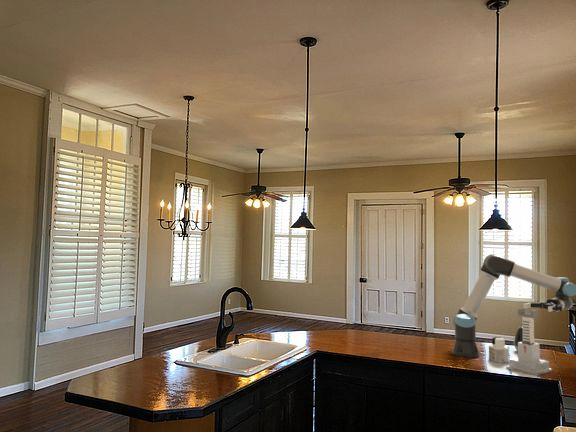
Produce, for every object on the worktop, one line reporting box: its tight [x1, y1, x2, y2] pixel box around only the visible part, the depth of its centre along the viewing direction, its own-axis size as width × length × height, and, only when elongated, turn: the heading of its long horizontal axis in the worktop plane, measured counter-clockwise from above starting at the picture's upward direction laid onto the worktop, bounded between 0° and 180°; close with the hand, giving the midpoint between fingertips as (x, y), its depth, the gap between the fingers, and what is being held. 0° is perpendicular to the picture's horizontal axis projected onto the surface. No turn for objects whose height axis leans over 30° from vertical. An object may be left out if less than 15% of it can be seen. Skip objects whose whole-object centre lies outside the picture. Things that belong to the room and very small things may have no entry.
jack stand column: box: [517, 307, 539, 345], centre depth 245 cm, size 8×5×30 cm, turn 35°
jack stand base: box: [505, 341, 553, 376], centre depth 245 cm, size 16×16×15 cm
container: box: [488, 336, 510, 363], centre depth 263 cm, size 8×8×13 cm
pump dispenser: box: [513, 326, 523, 352], centre depth 286 cm, size 10×10×15 cm
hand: (536, 307), depth 257 cm, fingers open, 13 cm apart
